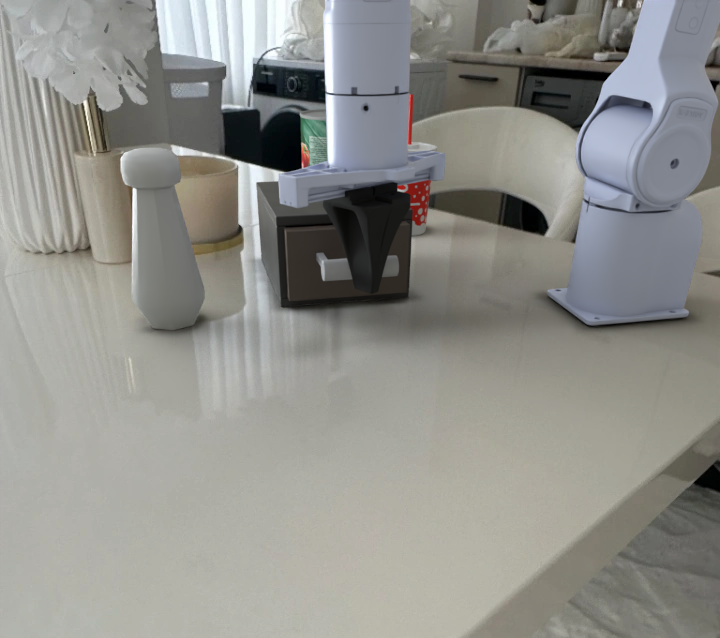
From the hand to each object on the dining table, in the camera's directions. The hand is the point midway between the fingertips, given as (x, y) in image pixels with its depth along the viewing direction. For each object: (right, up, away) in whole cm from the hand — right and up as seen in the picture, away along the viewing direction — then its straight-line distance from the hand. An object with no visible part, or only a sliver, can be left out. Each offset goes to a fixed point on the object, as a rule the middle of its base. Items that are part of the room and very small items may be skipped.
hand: (367, 289), depth 56 cm
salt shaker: (-16, -2, +3) cm, 17 cm away
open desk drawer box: (-3, +5, +13) cm, 14 cm away
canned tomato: (-4, +20, +36) cm, 41 cm away
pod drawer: (-2, +3, +9) cm, 10 cm away
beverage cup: (+5, +14, +27) cm, 31 cm away
